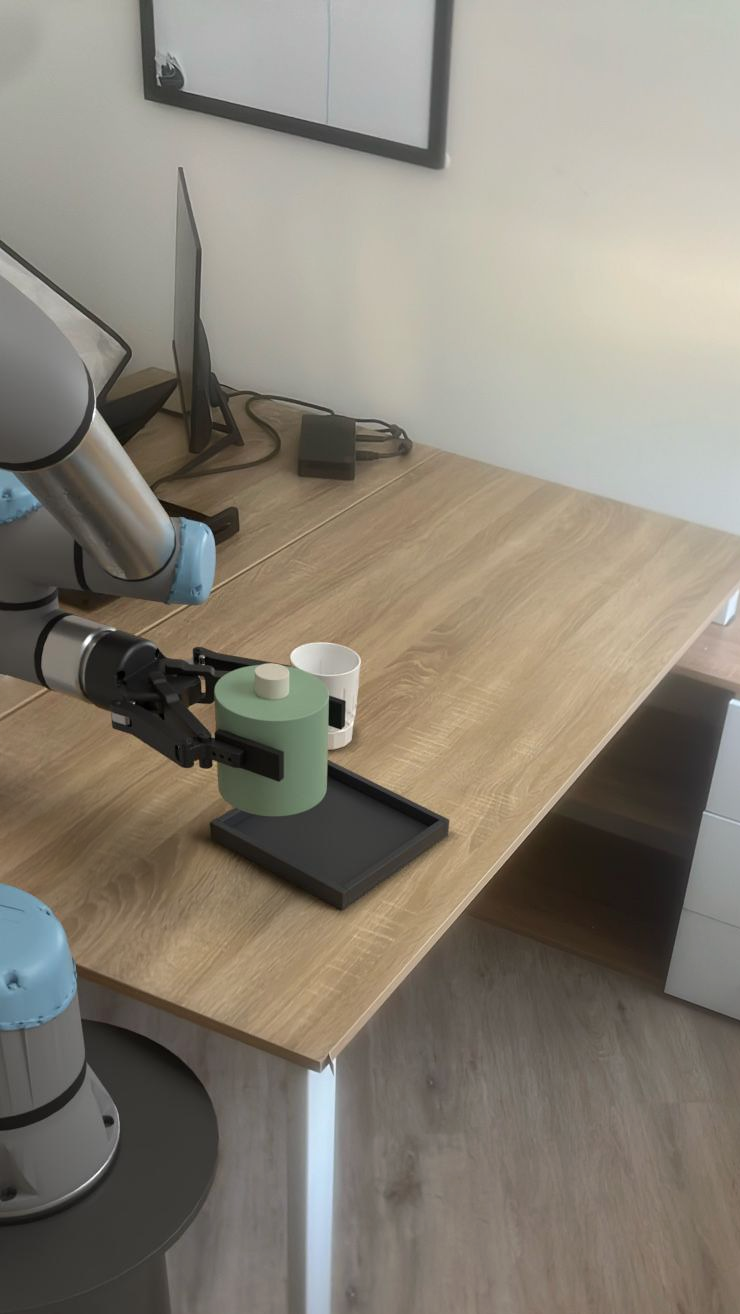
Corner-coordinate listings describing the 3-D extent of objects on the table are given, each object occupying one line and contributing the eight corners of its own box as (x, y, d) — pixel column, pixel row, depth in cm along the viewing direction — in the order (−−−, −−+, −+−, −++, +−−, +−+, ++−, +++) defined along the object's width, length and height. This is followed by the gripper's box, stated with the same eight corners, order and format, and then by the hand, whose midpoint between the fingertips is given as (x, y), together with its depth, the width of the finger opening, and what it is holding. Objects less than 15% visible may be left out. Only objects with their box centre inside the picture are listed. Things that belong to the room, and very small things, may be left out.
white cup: (312, 759, 145) (313, 681, 139) (276, 727, 149) (276, 650, 143) (370, 743, 149) (374, 666, 143) (334, 712, 154) (336, 636, 147)
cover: (276, 829, 114) (276, 712, 106) (195, 786, 118) (188, 670, 110) (348, 785, 121) (352, 672, 113) (269, 746, 124) (267, 633, 117)
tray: (342, 910, 125) (342, 893, 124) (210, 838, 131) (209, 821, 130) (448, 835, 137) (449, 819, 136) (322, 773, 143) (323, 757, 142)
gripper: (180, 658, 130) (372, 723, 125) (29, 755, 113) (244, 835, 108) (176, 588, 125) (375, 654, 120) (18, 679, 108) (242, 760, 103)
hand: (313, 740), depth 114 cm, fingers closed on cover, 10 cm apart
